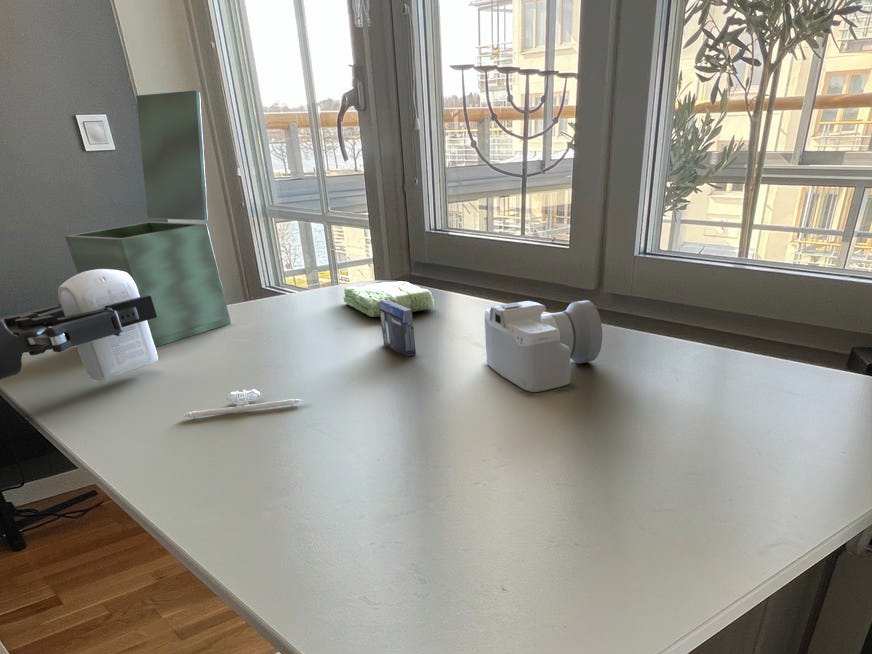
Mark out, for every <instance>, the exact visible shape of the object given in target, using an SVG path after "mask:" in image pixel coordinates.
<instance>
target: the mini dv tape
mask: <svg viewBox="0 0 872 654" xmlns="http://www.w3.org/2000/svg"><path fill="white" fill-rule="evenodd" d="M379 317H380V324H381V333H382V340H383V345H384V346H386V347H388V348H390V349H391V350H393V351H395V352H397V353H399V354H401V355H403V356H405V357H410V356H411V357H412V356H416V355H417V350H416V339H415V329H414V319H413V312H412V310H411V309H408V308H406V307H404V306H401V305H399V304H397V303H394V302H392V301H389V300H386V301H381V302H380V316H379Z"/></svg>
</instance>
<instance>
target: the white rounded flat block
mask: <svg viewBox="0 0 872 654" xmlns="http://www.w3.org/2000/svg"><path fill="white" fill-rule="evenodd" d="M57 296H58V300H59V304H60V303H61V306H62V309H63V312H64V314H65V317H66V316H71V315H76V314H81V313H86V312H91V311H96V310H101V309H104V308H105V306H107V305H111V304H115V303H118V302H122V301H126V300H130V299H134V298H138V297H140V296H139V293H138V289H137V287H136V284H135V282H134V281H133V279H132V278H131V276H130V275H129V274H128V273H126V272H123V271H119V270H111V269H96V270H89V271H85V272H82V273H79V274H78V273H77V274H75V275H73V276H71V277H69V278H68V279H67V280H65V281H64V282H63V283H61V284H60V285H59V286H58V289H57ZM122 330H123V332H121V333H120V334H121V335H120V336H116V335H110V336H107V337H104V338H100V339H97V340H93V341H90V342H86V343H83V344H80V345H76V346H75V347H76V350H77V352H78V355H79V357H80V360H81V363H82V365H83V369H84V370H85V374H86V375H87V376H88V377H89V379H91V380H92V381H100V382H101V381H107V380H109V379H111V378H115V377H117V376H120V375H123V374H126V373H128V372H131V371H134V370H136V369H140V368H142V367H147V366H148V365H151V364H154V363H157V362H158V361H159V355H158V352H157V349H156V348H157V347H155V345H154V342H153V339H152V336H151V332H150V329H149V326H148V322H147V320H146V321H142V322H139V323H135V324H132V325H128V326H125V327H122Z"/></svg>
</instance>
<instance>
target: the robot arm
mask: <svg viewBox="0 0 872 654" xmlns="http://www.w3.org/2000/svg"><path fill="white" fill-rule="evenodd" d="M156 317H157V315H156V311H155V308H154V305H153V302H152V298H151V296H150V295H146V296H142V297H138V298H134V299H130V300H126V301H122V302H118V303H115V304H111V305H107V306H105V308H104V309H101V310H96V311H91V312H86V313H81V314H76V315H71V316H66V317H65V314H64V312H63V309H62V306H61V303H60V302H59V303H58V304H55V305H51V306H46V307H42V308H38V309H34V310H30V311H25V312H22V313H17V314H13V315H8V316H2V317H0V380H4V379H6V378H11V377H13V376H16V375H19V373H20V372H21V370H22V368H23V367H22V366H23V361H22V359H23V354H24V353H28V354H29V356H36V355H41V354H44V353H45V352H46V351H49V350H52V351H53V353H62V352H63V351H66V350H68V349H71V348H73V347H76V345H80V344H83V343H86V342H90V341H93V340H97V339H100V338H104V337H107V336H110V335H116V336H120V335H121V334H120V333H121V332H123V330H122V327H125V326H128V325H132V324H135V323H139V322H142V321H146V320H149V319H153V318H156Z"/></svg>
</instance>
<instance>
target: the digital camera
mask: <svg viewBox="0 0 872 654" xmlns="http://www.w3.org/2000/svg"><path fill="white" fill-rule="evenodd" d="M546 311H547V308H546V305H545V304H541V303H539V302H536V301H532V300H525V301H519V302H518V301H517V302H511V303H504V304H498V305H494V306H491V307H487V308H486V309H485V312H484V314H483V315H484V317H483V319H484V334H485V335H484V336H485V338H484V339H485V355H486V358H485V359H486V364H487V365H488V366H489V367H490V368H491V369H492V370H493V371H495V372H497V373H498V374H499V375H500V376H502V377H503V378H505V379H507V380H508V381H509V382H511V383H512V384H514V385H516V386H518V387H519V388H521V389H522V390H524V391H527V392H530V393H538V392H544V391H549V390H553V389H557V388H562V387H564V386H568V385H569V384H570V382H571V360H572V361H573V362H574V363H576V364H579V365H580V364H585V363H589V362H593V361H595V360H596V359H597V358H598V357H599V355H600V352H601V349H602V344H603V325H602V320H601V316H600V312H599V311H598V309H597V307H596V305H595V304H594V303H593V302H592V301H591V300H588V299H587V300H579V301H573V302H571V303H570V304H569V305H568V306H567V308H566V310H562V311H558V312H552V313H547V314H543V312H546Z"/></svg>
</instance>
